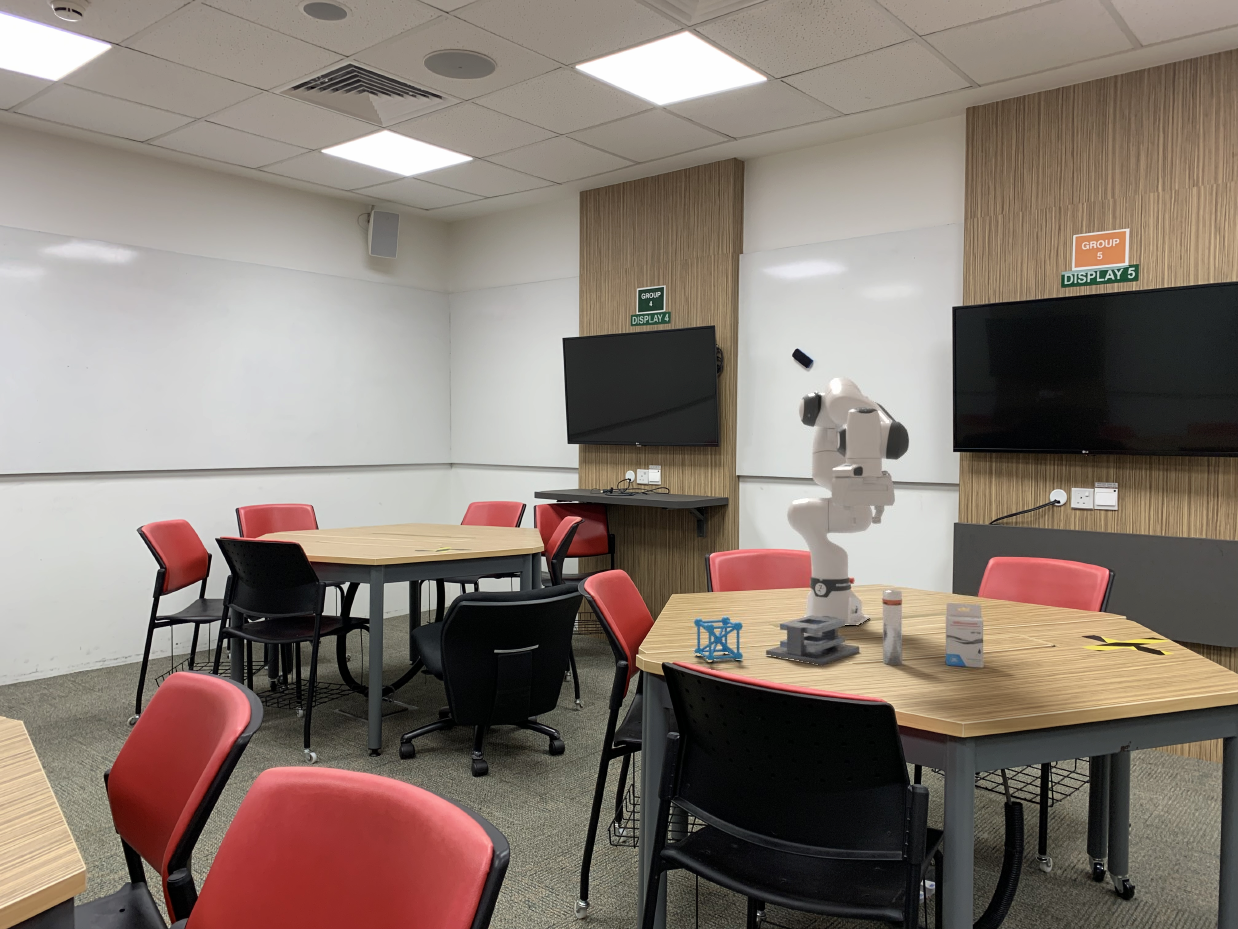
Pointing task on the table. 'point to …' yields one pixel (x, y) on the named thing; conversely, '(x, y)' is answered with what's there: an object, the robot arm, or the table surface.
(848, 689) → the table surface
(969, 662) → the ink box
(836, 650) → the collar stand
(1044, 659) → the table surface
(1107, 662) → the table surface
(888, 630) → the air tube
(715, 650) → the molecular structure
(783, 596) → the table surface
